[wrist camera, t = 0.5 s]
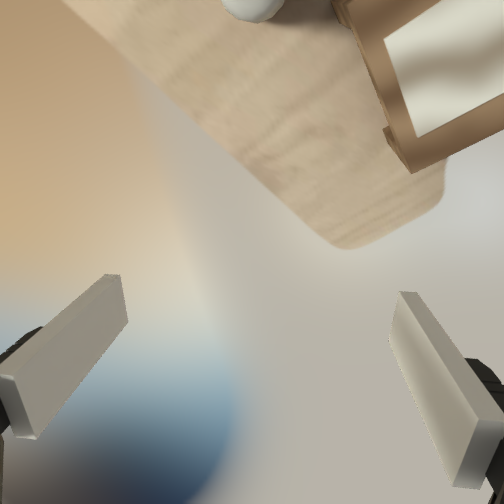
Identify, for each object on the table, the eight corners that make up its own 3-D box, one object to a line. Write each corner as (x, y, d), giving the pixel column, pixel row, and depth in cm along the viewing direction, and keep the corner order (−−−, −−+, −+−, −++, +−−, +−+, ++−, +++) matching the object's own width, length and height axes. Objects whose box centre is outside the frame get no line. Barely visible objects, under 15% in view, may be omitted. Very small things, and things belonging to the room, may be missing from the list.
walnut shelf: (330, 0, 30) (347, 5, 23) (471, -107, 25) (541, -138, 19) (388, 143, 38) (412, 175, 32) (502, 82, 33) (557, 105, 27)
